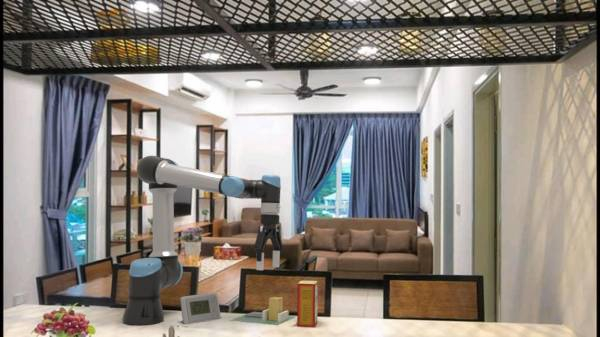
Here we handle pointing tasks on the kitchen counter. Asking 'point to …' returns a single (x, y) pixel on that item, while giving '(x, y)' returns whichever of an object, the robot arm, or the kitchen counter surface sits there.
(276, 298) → the tan yellow block
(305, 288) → the baking soda box
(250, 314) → the board
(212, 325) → the kitchen counter surface
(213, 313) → the digital clock
